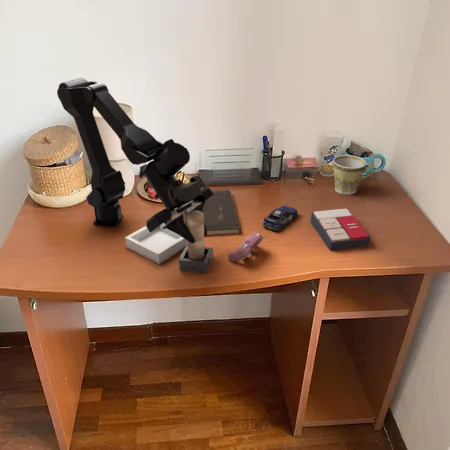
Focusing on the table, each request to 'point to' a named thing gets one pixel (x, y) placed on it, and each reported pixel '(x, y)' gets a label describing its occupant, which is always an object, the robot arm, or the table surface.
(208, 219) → the hardcover book
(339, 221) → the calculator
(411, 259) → the table surface
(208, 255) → the collar
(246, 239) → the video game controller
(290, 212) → the race car
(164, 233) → the tray
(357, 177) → the ceramic cup
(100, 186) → the robot arm
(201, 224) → the dowel
